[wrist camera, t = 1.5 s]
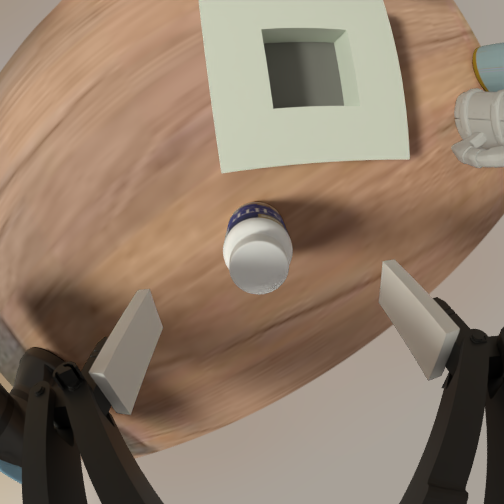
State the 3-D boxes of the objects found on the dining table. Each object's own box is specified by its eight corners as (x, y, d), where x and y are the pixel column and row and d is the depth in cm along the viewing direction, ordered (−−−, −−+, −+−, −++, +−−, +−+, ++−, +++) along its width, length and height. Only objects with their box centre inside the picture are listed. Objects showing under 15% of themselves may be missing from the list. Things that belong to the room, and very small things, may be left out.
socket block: (225, 168, 24) (221, 173, 21) (204, 13, 18) (198, -5, 14) (388, 155, 24) (409, 159, 20) (366, 11, 18) (381, -3, 14)
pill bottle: (282, 199, 26) (300, 228, 17) (284, 251, 28) (299, 299, 19) (225, 203, 26) (215, 234, 17) (230, 255, 28) (224, 305, 19)
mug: (497, 130, 22) (565, 143, 11) (453, 183, 25) (529, 213, 14) (471, 79, 20) (543, 75, 8) (422, 128, 23) (506, 135, 12)
